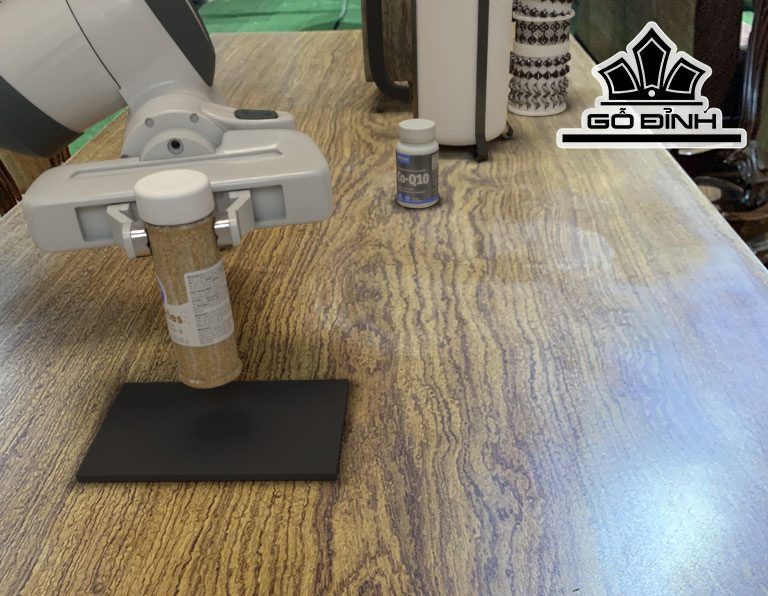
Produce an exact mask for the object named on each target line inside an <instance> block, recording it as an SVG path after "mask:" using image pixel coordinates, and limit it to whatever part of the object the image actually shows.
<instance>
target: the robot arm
mask: <svg viewBox="0 0 768 596" xmlns="http://www.w3.org/2000/svg"><path fill="white" fill-rule="evenodd" d="M216 55H217V54H216V51H215V46H214V43H213V41H212V39H211V36H210V34H209V31H208V29H207V27H206V25H205V23H204V20H203V18H202V17H201V15H200V12H199V11H198V8H197V7H196V5H195V3H194V1H193V0H3V1H1V2H0V148H1V149H3V150H6V151H9V152H12V153H15V154H18V155H23V156H26V157H31V158H39V159H52V158H53V157H55V156H56V155H58V154H59V153H60V152H61V151H63V150H64V149H66V148H67V147H68V146H69V145H71V144H73V143H74V142H75V141H76V140H78V139H79V138H81V137H82V136H83V135H84V134H85V131H87V130H89V129H91V128H93V127H94V126H96V125H97V124H99V123H101V122H103V121H104V120H106V119H107V118H109V117H111V116H113V115H114V114H116V113H118V112H119V111H121V110H123V109H124V108H127V107H128V108H129V109H128V111H127V112H128V113H127V117H126V124H125V130H124V134H123V139H122V144H121V151H120V156H119V158H114V159H105V160H104V159H103V160H93V161H84V162H76V163H68V164H63V165H58V166H55V167H51V168H49V169H47V170H45V171H43V172H42V173H41V174H39V176H38V177H36V179H35V180H34V181H33V182H32V184H30V186H29V187H28V188H27V190H26V191H25V193H24V194H23V196H22V199H21V209H22V212H23V216H24V219H25V223H26V226H27V229H28V231H29V234H30V237H31V240H32V242H33V244H34V246H35V247H36V248H37V249H39V250H40V251H42V252H45V253H48V254H59V253H68V252H75V251H83V250H84V251H85V250H91V249H92V250H93V249H101V248H109V247H110V248H111V247H120V248H122V249H124V250H125V253H126V257H127V259H128V260H137V259H142V258H143V259H144V258H150V257H153V256H152V251H151V247H150V244H149V239H148V235H147V231H146V227H145V225H144V223H143V221H142V219H141V218H140V216H139V212H138V208H137V204H136V200H135V195H134V186H135V184H136V183H137V182H138V181H139V180H140V179H142V178H144V177H146V176H148V175H150V174H153V173H157V172H161V171H167V170H176V169H187V170H194V171H198V172H201V173H203V174H205V175H206V176H207V177H208V178H209V181H210V185H211V190H212V194H213V200H214V209H213V210H214V216H213V218H214V219H213V223H214V229H215V234H216V235H217V237H216V240H217V245H218V249H219V248H224V249H229V248H237V247H238V248H239V247H242V242H241V238H243V237H245V236H246V235H247V234H249V233H250V232H252V231H254V230H264V229H273V228H282V227H289V226H298V225H307V224H308V225H309V224H316V223H317V224H318V223H322V222H324V221H327V220H328V219H329V218H331V217H332V216H333V214H334V193H333V182H332V176H331V170H330V169H331V168H330V165H329V163H328V160H327V158H326V156H325V155H324V152H323V151H322V150H321V148H320V147H319V145H318V144H317V143H316V142H315V140H314V139H313V138H312V137H311V136H310V135H308V134H306V133H304V132H303V131H299V130H298V127H297V123H296V118H295V116H294V115H293V113H292V112H289V111H285V110H271V109H248V108H236V107H231V106H230V104H229V101H228V100H227V98H226V96H225V94H224V93H223V91H222V90H221V88H220V87H219V86H218V84H217V83H216V81H215V75H216V74H215V73H216V63H217V62H216V60H217V59H216V58H217V56H216Z"/></svg>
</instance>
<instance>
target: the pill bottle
mask: <svg viewBox="0 0 768 596" xmlns="http://www.w3.org/2000/svg"><path fill="white" fill-rule="evenodd" d="M435 135H436V130H435V122H433V121H431V120H427V119H413V118H409V119H405V120H402V121H400V122H399V123H398V139H399V141H398V142H397V143H396V144H395V163H396V164H395V167H396V169H395V170H396V171H395V173H396V177H395V178H396V200H397V203H398V204H399V205H400V206H402V207H405V208H410V209H424V208H429V207H432V206H434V205H436V204H437V203H438V201H439V182H440V181H439V177H440V175H439V173H440V171H439V168H440V167H439V166H440V164H439V163H440V162H439V161H440V159H439V157H440V147H439V146H440V145H439V144H438V143H437V141H436V140H434V138H435Z"/></svg>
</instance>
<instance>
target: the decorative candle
mask: <svg viewBox="0 0 768 596" xmlns="http://www.w3.org/2000/svg"><path fill="white" fill-rule="evenodd" d="M577 1H578V0H513V3H512V8H514V10H512V19H515V26H514V38H513V40H512V51H513V53H512V54H511V56H510V60H511V61H512V62H513V63H514V65H512V64H511V65H512V66H511V67H510V70H509V74H511V75H512V77H511V78H509V85H508V89H509V91H508V101H509V103H508V104H507V111H510V112H511V113H513V114H516V115H521V116H528V117H530V116H531V117H540V116H541V117H542V116H551V115H557V114H559V113H562V112H564V111H565V110H566V109H567V103H566V100H567V99H568V98H569V97H568V91H567V89H568V88H569V86H570V84H569V83H570V81H569V79H568V78H567V76H566V75H567V74H568V73H570V71H571V68H570V65H569V64H568V63H569V62H570V61H571V59H572V54H571V53H570V51H571V38H570V35H571V23H572V22H571V21H572V18H573V17H575V16H576V12H575V10H574V9H573V8H572V5H573V4H574V3H576V2H577Z"/></svg>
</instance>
